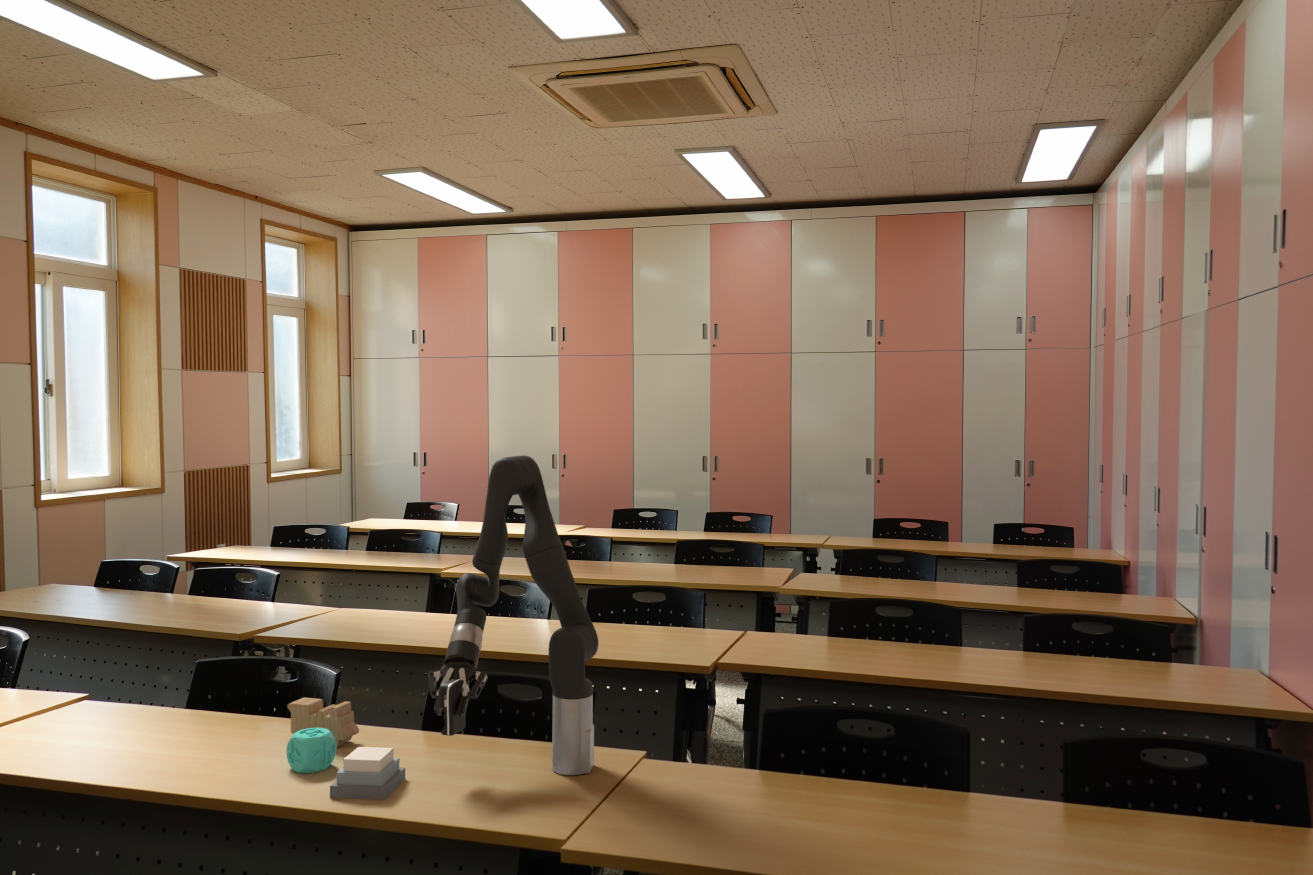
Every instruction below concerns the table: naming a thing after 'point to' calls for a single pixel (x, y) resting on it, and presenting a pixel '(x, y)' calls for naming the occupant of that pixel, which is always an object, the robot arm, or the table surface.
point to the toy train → (323, 718)
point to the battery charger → (451, 706)
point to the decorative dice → (311, 750)
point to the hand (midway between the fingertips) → (448, 713)
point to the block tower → (368, 774)
